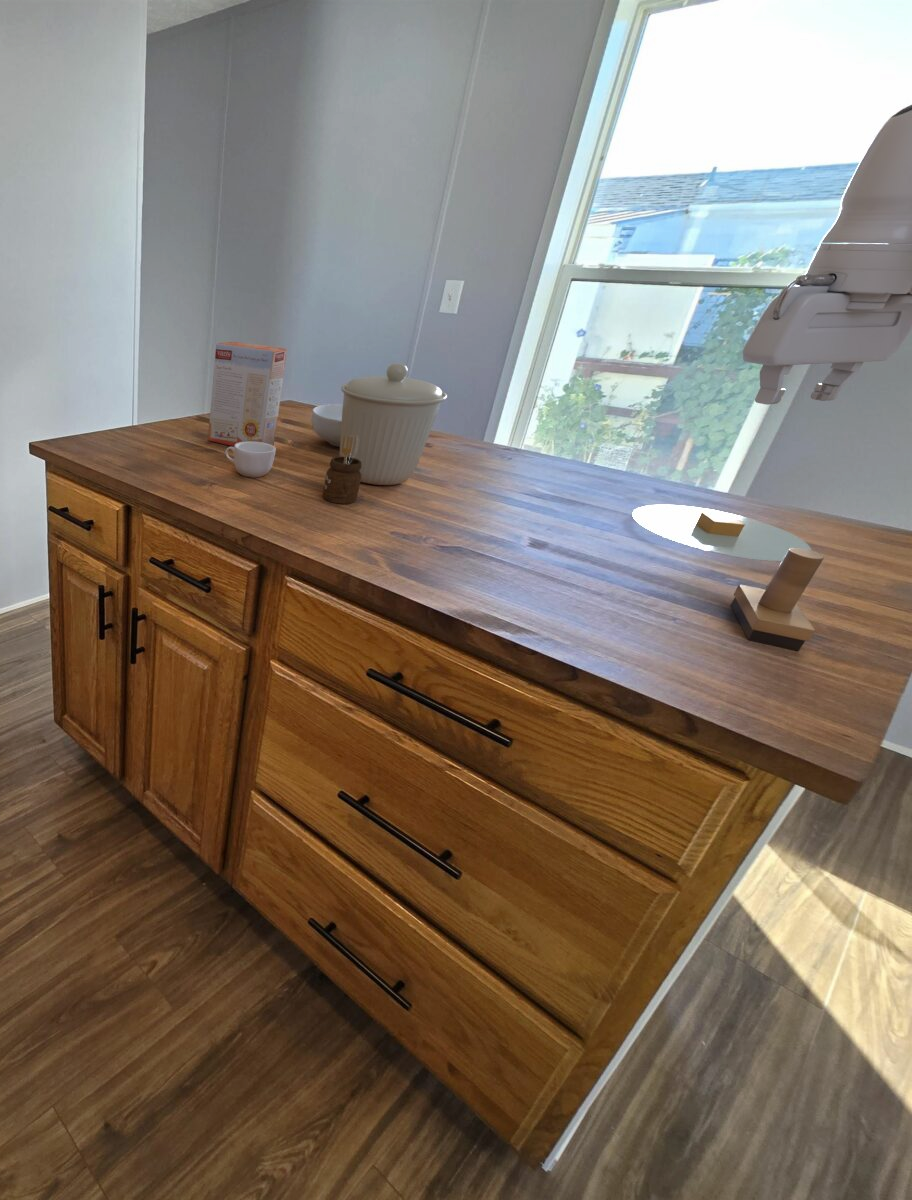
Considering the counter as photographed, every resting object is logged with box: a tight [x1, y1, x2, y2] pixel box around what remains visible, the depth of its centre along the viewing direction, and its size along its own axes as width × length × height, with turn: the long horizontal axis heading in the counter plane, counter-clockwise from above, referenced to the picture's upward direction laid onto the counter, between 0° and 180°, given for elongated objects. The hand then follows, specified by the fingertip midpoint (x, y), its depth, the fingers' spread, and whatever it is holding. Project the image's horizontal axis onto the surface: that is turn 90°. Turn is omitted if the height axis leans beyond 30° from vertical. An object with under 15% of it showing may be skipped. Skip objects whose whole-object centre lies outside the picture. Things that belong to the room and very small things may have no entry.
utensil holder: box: [322, 435, 362, 505], centre depth 113 cm, size 6×6×12 cm
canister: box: [339, 363, 448, 486], centre depth 122 cm, size 18×18×21 cm
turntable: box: [631, 504, 813, 562], centre depth 103 cm, size 22×22×2 cm
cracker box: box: [207, 341, 288, 447], centre depth 140 cm, size 14×6×21 cm, turn 46°
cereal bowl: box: [311, 403, 343, 448], centre depth 146 cm, size 17×17×7 cm
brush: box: [729, 548, 825, 652], centre depth 77 cm, size 10×5×10 cm, turn 150°
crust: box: [696, 512, 745, 536], centre depth 102 cm, size 4×4×2 cm
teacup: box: [224, 441, 277, 479], centre depth 127 cm, size 10×8×5 cm
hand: (793, 401), depth 79 cm, fingers open, 8 cm apart
